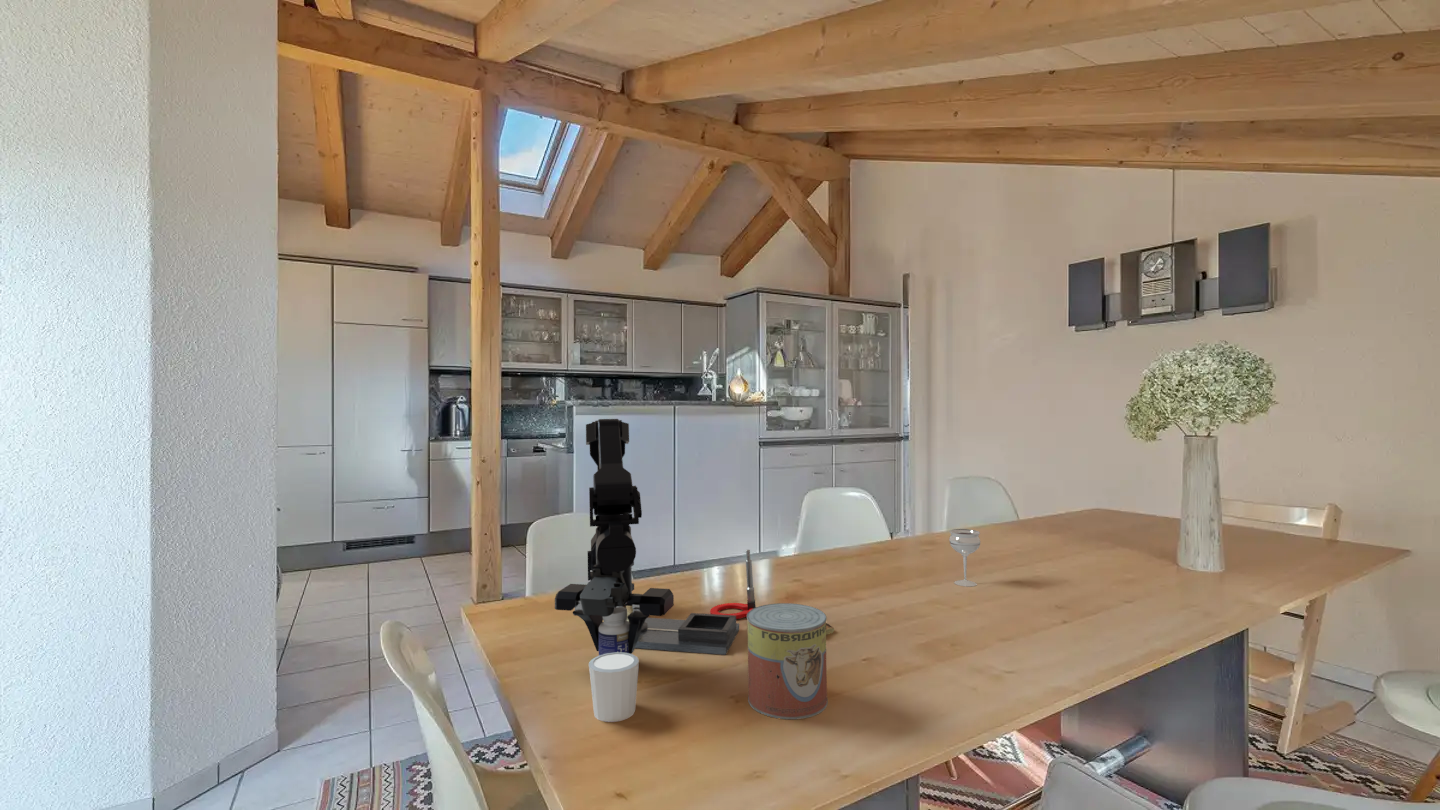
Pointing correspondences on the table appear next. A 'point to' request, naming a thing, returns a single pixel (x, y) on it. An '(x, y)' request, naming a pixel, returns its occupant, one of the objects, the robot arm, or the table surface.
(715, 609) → the tow hook
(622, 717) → the white cup
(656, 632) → the metal plate with knob
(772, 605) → the canned food
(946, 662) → the table surface
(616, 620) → the pill bottle
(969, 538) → the wineglass
